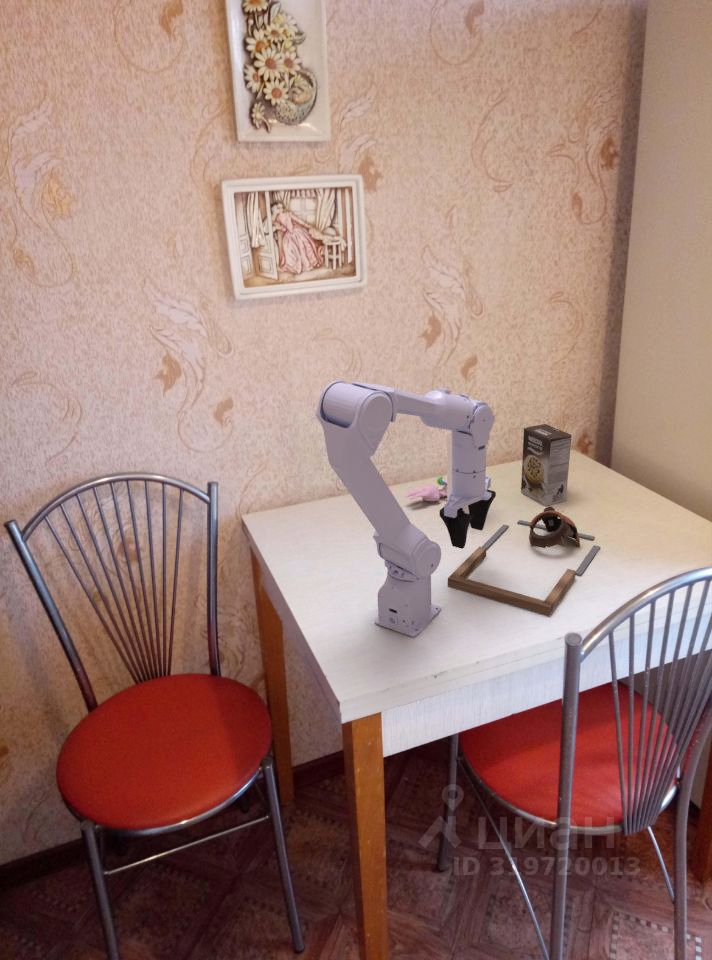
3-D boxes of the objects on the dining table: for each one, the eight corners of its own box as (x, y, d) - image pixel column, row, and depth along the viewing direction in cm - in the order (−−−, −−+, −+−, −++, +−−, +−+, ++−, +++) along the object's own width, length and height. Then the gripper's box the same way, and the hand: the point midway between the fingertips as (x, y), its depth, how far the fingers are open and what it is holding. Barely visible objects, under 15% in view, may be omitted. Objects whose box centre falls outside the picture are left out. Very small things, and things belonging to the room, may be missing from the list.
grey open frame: (580, 576, 125) (581, 574, 125) (479, 550, 136) (479, 548, 136) (605, 540, 137) (605, 538, 136) (510, 519, 147) (510, 517, 147)
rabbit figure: (450, 493, 165) (399, 500, 157) (453, 470, 163) (402, 475, 155) (466, 502, 160) (415, 509, 152) (470, 478, 158) (418, 484, 150)
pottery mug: (589, 556, 132) (575, 529, 128) (543, 574, 135) (528, 548, 131) (572, 515, 142) (559, 489, 137) (530, 533, 145) (515, 508, 140)
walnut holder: (549, 616, 114) (549, 607, 113) (447, 586, 124) (447, 578, 124) (575, 579, 124) (575, 570, 123) (479, 554, 134) (479, 546, 134)
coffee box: (519, 492, 160) (522, 427, 153) (541, 486, 162) (545, 422, 156) (544, 507, 152) (549, 439, 146) (567, 500, 154) (572, 433, 148)
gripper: (471, 486, 109) (470, 560, 114) (507, 456, 119) (505, 525, 125) (432, 478, 112) (433, 550, 118) (470, 450, 123) (469, 517, 128)
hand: (467, 537), depth 121 cm, fingers open, 7 cm apart
